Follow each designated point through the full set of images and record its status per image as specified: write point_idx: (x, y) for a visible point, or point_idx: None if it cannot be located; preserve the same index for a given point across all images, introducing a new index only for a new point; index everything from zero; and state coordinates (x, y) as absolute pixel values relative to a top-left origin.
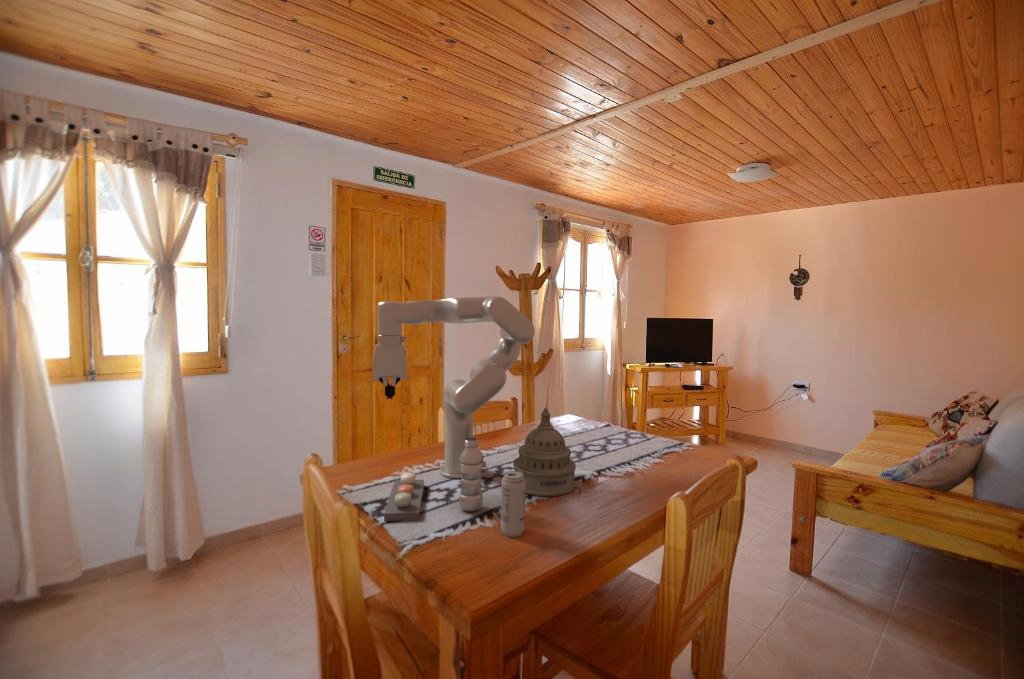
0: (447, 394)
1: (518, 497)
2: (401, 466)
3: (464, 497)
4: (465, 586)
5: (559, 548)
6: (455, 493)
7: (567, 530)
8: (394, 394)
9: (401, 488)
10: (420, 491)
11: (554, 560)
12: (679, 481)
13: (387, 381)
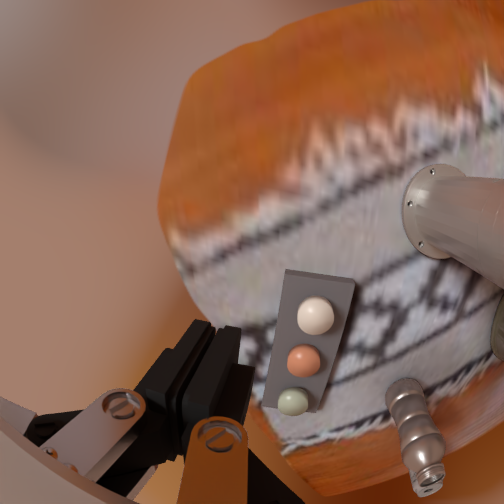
0: None
1: None
2: (304, 127)
3: (391, 414)
4: (329, 485)
5: None
6: (402, 329)
7: (461, 430)
8: (248, 403)
9: (294, 367)
10: (335, 345)
11: None
12: None
13: (124, 439)
